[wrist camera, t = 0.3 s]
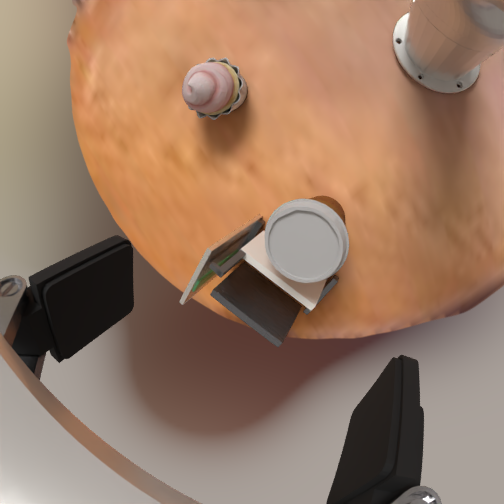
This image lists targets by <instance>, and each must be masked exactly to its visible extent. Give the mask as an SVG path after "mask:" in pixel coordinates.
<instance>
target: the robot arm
mask: <svg viewBox="0 0 504 504" xmlns="http://www.w3.org/2000/svg"><path fill="white" fill-rule="evenodd" d="M397 42H400V44H398V43H397ZM503 47H504V0H412V2H411V7H410V12H408V13H406V14H405V15H403V16H402V17H401V18H400V19H399V20H398V22H397V23H396V25H395V28H394V32H393V48H394V51H395V55H396V57H397V59H398V61H399V63H400V65H401V66H402V67H403V69H404V70H405V71H406V72H407V73H408V74H409V76H410V77H411V78H413V79H414V80H415V81H416V82H418V83H419V84H421V85H422V86H424V87H426V88H428V89H430V90H433V91H435V92H440V93H450V94H452V93H458V92H461V91H463V90H465V89H467V88H469V87H470V86H471V85H472V84H473V83H474V82H475V81H476V79H477V77H478V75H479V71H480V64H481V63H482V62H484V61H485V60H486V59H488V58H489V57H490V56H492V55H493V54H495V53H496V52H497V51H499V50H500V49H501V48H503ZM418 76H420V77H421V78H422V79H419V78H418ZM457 84H458V85H459V88H458V87H457ZM29 282H30V287H28V288H27V284H26V281H25V279H24V278H22V277H21V276H17V275H11V276H7V277H4V278H2V279H0V504H201V503H199V502H197V501H195V500H193V499H192V498H190V497H188V496H186V495H184V494H182V493H180V492H179V491H177V490H175V489H173V488H171V487H170V486H168V485H167V484H165V483H163V482H162V481H160V480H158V479H157V478H155V477H154V476H152V475H151V474H149V473H147V472H146V471H144V470H143V469H141V468H140V467H138V466H137V465H136V464H134V463H133V462H131V461H130V460H128V459H127V458H126V457H124V456H123V455H122V454H120V453H119V452H117V451H116V450H115V449H114V448H112V447H111V446H110V445H108V444H107V443H106V442H104V441H103V440H102V439H101V438H100V437H98V436H97V435H96V434H95V433H94V432H92V431H91V430H90V429H89V428H88V427H87V426H85V425H84V424H83V423H82V422H81V421H80V420H79V419H78V418H76V417H75V416H74V415H73V414H72V413H71V412H70V411H69V410H68V409H67V408H66V407H65V406H64V405H63V404H62V403H61V402H60V401H59V400H58V399H57V398H56V397H55V396H54V395H53V394H52V393H51V392H50V391H49V390H48V389H47V388H46V387H45V386H44V385H43V384H42V383H41V382H40V377H41V372H42V368H43V364H44V359H45V356H46V352H47V351H48V350H50V353H51V355H52V356H53V357H54V358H55V359H56V360H57V361H58V362H59V363H60V362H61V361H62V360H64V359H68V358H70V357H71V356H73V355H74V354H75V353H77V352H78V351H79V350H81V349H82V348H83V347H85V346H86V345H87V344H89V343H90V342H91V341H93V340H94V339H95V338H97V337H98V336H99V335H101V334H102V333H103V332H105V331H106V330H107V329H109V328H110V327H111V326H113V325H114V324H116V323H117V322H118V321H120V320H121V319H122V318H124V317H125V316H126V315H128V314H129V313H130V312H131V311H132V309H133V307H134V298H133V297H134V296H133V248H132V247H131V243H130V241H128V240H126V239H124V238H122V237H120V236H113V237H111V238H108V239H106V240H104V241H102V242H100V243H97V244H95V245H93V246H91V247H89V248H86V249H84V250H82V251H80V252H78V253H76V254H74V255H72V256H70V257H68V258H66V259H63V260H62V261H59V262H57V263H55V264H53V265H51V266H49V267H47V268H45V269H44V270H41V271H40V272H37V273H36V274H34V275H32V276H30V277H29ZM423 432H424V412H423V408H422V407H421V406H420V387H419V366H418V361H417V360H415V359H412V358H410V357H407V356H404V355H400V356H399V357H398V358H394V357H393V358H392V359H391V361H390V362H389V363H388V365H387V366H386V368H385V369H384V371H383V372H382V373H381V375H380V376H379V378H378V379H377V381H376V382H375V383H374V385H373V386H372V387H371V389H370V390H369V391H368V392H367V394H366V395H365V396H364V398H363V399H362V400H361V402H360V403H359V404H358V405H357V407H356V408H355V409H354V411H353V413H352V416H351V419H350V423H349V428H348V432H347V436H346V439H345V444H344V447H343V451H342V454H341V458H340V462H339V465H338V468H337V472H336V475H335V478H334V481H333V484H332V487H331V490H330V493H329V496H328V499H327V504H442V503H441V499H440V497H439V496H438V494H437V493H436V492H435V491H434V490H433V489H431V488H428V487H426V486H420V480H421V471H422V470H421V469H422V457H423V435H424V433H423Z"/></svg>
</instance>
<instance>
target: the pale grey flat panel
mask: <svg viewBox="0 0 504 504" xmlns="http://www.w3.org/2000/svg"><path fill="white" fill-rule="evenodd" d="M264 236H265V231H262V232H261V233H260V234H259V235H257V236H256V237H255V238H254V239H252V240H251V241H250V242H249V243H247V244H246V245H245V246H244V247H242V248H241V249H240V251H239V252H238V253H237V254H235V255H234V256H233V257H232V258H230V259H229V260H228V261H227V262H226V263H224V264H223V265H222V266H221V267H220V266H219V265H217V264H216V263H215V262H212V263H211V264H210V266H209V268H210V269H212V270H213V271H214V272H215V273H216V274H217V275H218V276H219V277H222V276H223V275H224V274H226V273H227V272H228V271H229V270H230V269H231V268H232V267H234V266H235V265H236V264H237V263H238V262H239V261H240V260H242V259H244V260H246V261H247V262H248V263H249V264H251V265H252V266H253V267H255V268H256V269H257V270H259V271H260V272H261V273H262V274H264V275H265V276H266V277H268V278H269V279H270V280H272V281H273V282H274V283H275V284H277V285H278V286H279V287H281V288H282V289H283V290H285V291H286V292H287V293H289V294H290V295H291V296H292V297H294V298H295V299H296V300H298V301H299V302H300V303H302V304H303V305H304V306H306V307H307V308H308V309H309V310H311V311H312V309H313V308H314V307H315V306H316V304H317V302H318V300H319V297H320V295H321V293H322V290H323V288H324V285H325V283H326V280H327V279H324V280H321V281H318V282H312V283H302V282H297V281H294V280H291V279H289V278H287V277H285V276H284V275H282V274H281V273H280V272H279V271H278V270H276V268H275V267H274V266H273V265H272V263H271V262H270V260H269V258H268V255H267V253H266V248H265V237H264Z"/></svg>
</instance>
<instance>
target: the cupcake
mask: <svg viewBox="0 0 504 504" xmlns="http://www.w3.org/2000/svg"><path fill="white" fill-rule="evenodd" d="M182 95H183V98H184V100H185V102H186V104H187V105H188V108H189V109H190V110H195V111H196V112H197V115H198V117H199V118H203V117H206V116H208V117H209V118H211V119H213V120H215V119H217V118H218V117H219V116H220V115H222V114H230V112H231V111H233V110H235V109H237V108H238V107H239V106H240V105H242V103H243V102H244V100H245V98H246V95H247V84H246V82H245V80H244V78H243V77H242V76H241V75H240V72H239V67H237V66H234V65H231V64H230V62H229V60H228V59H227V58H223V59H220V60H216V59H214V58H210V59H208V60H207V61H206V62H205V63H202V64H197V65H196V66H194V67H193V68H191V69H190V71H189V72H188V73H187V75H186V77H185V79H184V82H183V86H182Z"/></svg>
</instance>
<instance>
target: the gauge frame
mask: <svg viewBox="0 0 504 504" xmlns="http://www.w3.org/2000/svg"><path fill="white" fill-rule="evenodd" d="M262 217H263V216H262V215H260V214H259V215H257V216H256V217H254V218H252V219H251V220H249V221H248V222H246V223H245V224H243V225H242V226H240V227H239V228H237V229H235V230H234V231H232V232H231V233H229V234H228V235H226V236H225V237H223V238H222V239H220V240H219V241H217V242H216V243H214V244H213V245H211V246H210V247H208V248H207V250H206V252H205V254H204V255H203V257H202V259H201V261H200V263H199V265H198V267H197V269H196V271H195V272H194V274H193V276H192V278H191V280H190V282H189V284H188V286H187V288H186V290H185V292H184V294H183V296H182V298H181V300H180V303H181V304H182V305H183V304H185V303H186V302H187V301H188V300H189V299H190V298H192V297H193V296H194V295H195V294H196V293H197V292H199V291H200V290H201V289H202V288H203V287H204V286H206V285H207V284H208V283H209V282H210V281H211V280H213V279H214V278H215V277H216V276H217V274H216V273H215V272H214V271H213V270H212V269H210V268H209V266H210V264H211V263H212V262H215V263H216V264H217V265H219V266H220V267H221V266H222V265H223V264H224V263H226V262H227V261H228V260H229V259H230V258H232V257H233V256H234V255H235V254H237V253H238V252H239V251H240V249H241V248H242V247H244V246H245V245H246V244H247V243H249V242H250V241H251V240H252V239H254V238H255V237H256V236H257V234H258V232H259V231H260V229H261V228H262V226H263V225H264V223H265V221H263V220H262V219H261V218H262ZM338 279H339V278H338V277H337V276H336V275H334V276H333V278H332V279H331V280H330V281H329V282H328V283H327V284H326V286H325V287H324V288H323V290H322V293H321V295H320V297H319V300H318V302H317V304H318V303H319V302H320V301H321V299H322V298H323V297H324V296H325V295H326V294H327V293H328V292H329V291H330V290H331V289H332V287H333V286H334V285H335V284H336V283H337V282H338ZM210 295H211V296H212V297H213V298H215V299H216V300H217V301H218V302H220V303H221V304H222V305H223V306H225V307H226V308H227V309H228V310H230V311H231V312H232V313H233V314H235V315H236V316H237V317H239V318H240V319H241V320H242V321H244V322H245V323H246V324H248V325H249V326H250V327H252V328H253V329H254V330H256V331H257V332H258V333H259V334H261V335H262V336H263V337H265V338H266V339H267V340H269V341H270V342H271V343H273V344H274V345H275V346H277V347H279V346H280V345H281V344H282V343H283V341H284V339H285V337H286V336H287V334H288V332H289V330H290V328H291V326H292V324H293V322H294V320H295V319H296V317H297V315H298V313H299V311H300V309H301V307H302V306H301V305H300V304H298V303H297V302H296V301H294V300H293V299H292V298H290V297H289V296H288V295H286V294H285V293H284V292H283V291H281V290H280V289H279V288H277V287H276V286H275V285H273V284H272V283H271V282H270V281H268V280H267V279H266V278H264V277H263V276H262V275H260V274H259V273H258V272H257V271H255V270H254V269H253V268H251V267H250V266H249V265H247V264H246V263H245V262H243V263H242V264H241V265H240V266H239V267H238V268H236V269H235V270H234V271H233V272H232V273H231V274H230V275H229V276H228V277H227V278H225V279H224V280H223V281H222V282H221V283H220V284H219V285H218V286H217V287H216V288H214V289H213V291H212V293H211V294H210ZM317 304H316V305H317ZM310 311H311V310H309V309H308V308H307V307H306V308H305V309H304V311H303V312H304V313H305V314H308V313H309V312H310Z"/></svg>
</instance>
